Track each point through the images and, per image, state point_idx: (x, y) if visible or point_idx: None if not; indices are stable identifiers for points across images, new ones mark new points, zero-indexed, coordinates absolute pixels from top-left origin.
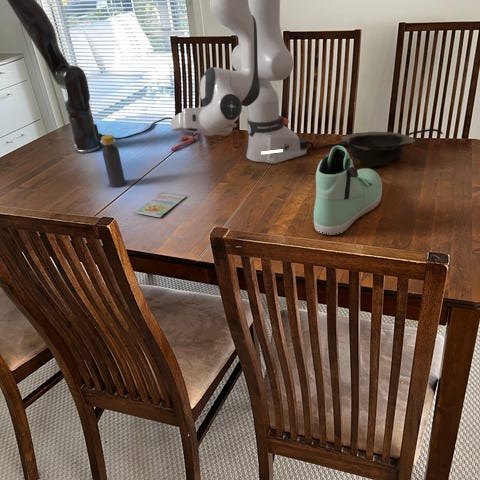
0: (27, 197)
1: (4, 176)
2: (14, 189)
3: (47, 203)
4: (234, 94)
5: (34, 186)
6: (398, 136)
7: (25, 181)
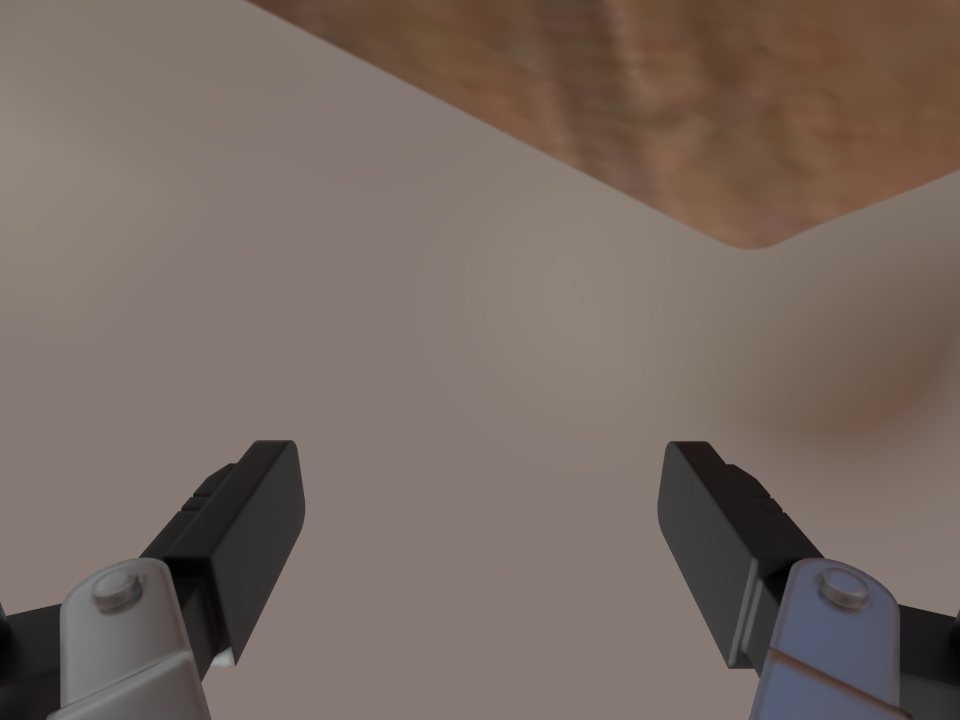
0: (799, 157)
1: (432, 95)
2: (650, 149)
3: (955, 130)
4: None
5: (719, 59)
6: None
7: (610, 54)
